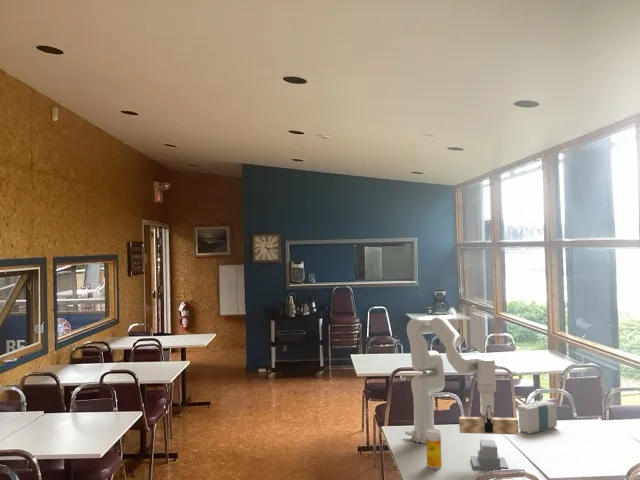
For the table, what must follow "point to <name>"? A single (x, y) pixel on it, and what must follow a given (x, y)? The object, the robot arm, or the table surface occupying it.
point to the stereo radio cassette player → (537, 416)
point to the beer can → (433, 448)
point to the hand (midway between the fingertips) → (488, 430)
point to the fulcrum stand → (488, 457)
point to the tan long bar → (479, 425)
